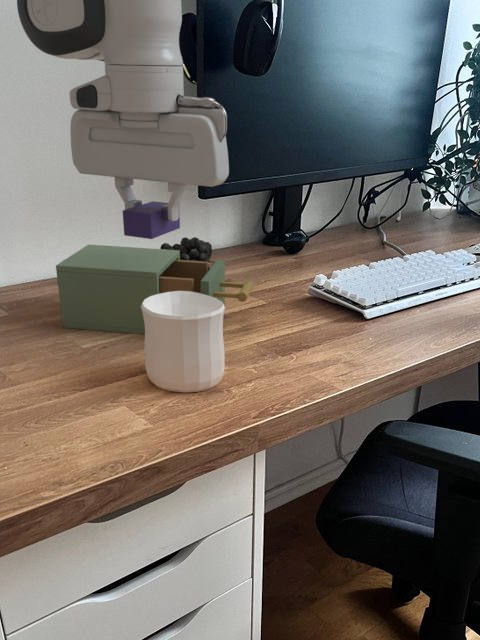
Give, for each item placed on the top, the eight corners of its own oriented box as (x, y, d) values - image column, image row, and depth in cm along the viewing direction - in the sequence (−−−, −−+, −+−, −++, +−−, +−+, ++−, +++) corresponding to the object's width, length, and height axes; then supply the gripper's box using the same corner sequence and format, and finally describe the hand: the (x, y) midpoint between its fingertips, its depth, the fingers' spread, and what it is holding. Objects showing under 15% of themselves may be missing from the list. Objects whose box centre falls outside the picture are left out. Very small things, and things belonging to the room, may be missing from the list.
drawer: (255, 309, 107) (256, 262, 103) (243, 334, 97) (244, 283, 94) (141, 300, 109) (138, 254, 106) (118, 324, 100) (114, 274, 96)
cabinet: (181, 308, 110) (179, 250, 105) (159, 335, 99) (156, 272, 94) (93, 301, 111) (88, 244, 107) (62, 327, 101) (55, 265, 96)
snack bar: (151, 239, 84) (150, 213, 82) (123, 235, 85) (122, 210, 84) (180, 228, 89) (179, 204, 88) (153, 224, 91) (152, 201, 89)
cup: (157, 360, 91) (154, 287, 86) (232, 366, 90) (232, 293, 85) (135, 389, 83) (129, 311, 78) (216, 397, 81) (216, 318, 77)
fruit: (122, 236, 112) (215, 234, 113) (128, 241, 120) (214, 239, 121) (125, 290, 114) (216, 288, 115) (131, 292, 122) (216, 290, 123)
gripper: (238, 96, 78) (237, 222, 85) (89, 89, 85) (99, 205, 92) (213, 99, 73) (214, 232, 80) (57, 91, 80) (70, 213, 87)
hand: (151, 217), depth 86 cm, fingers closed on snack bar, 4 cm apart
